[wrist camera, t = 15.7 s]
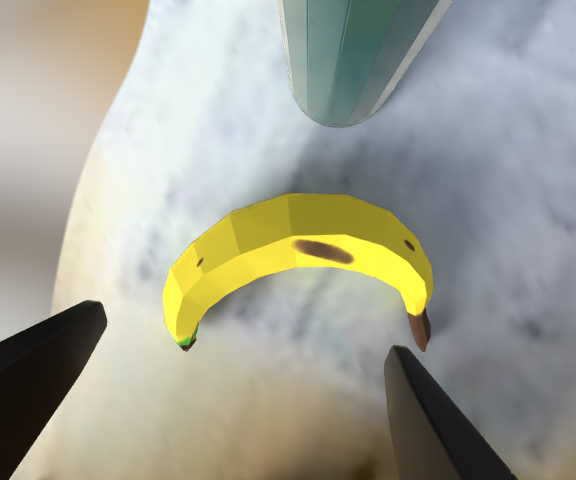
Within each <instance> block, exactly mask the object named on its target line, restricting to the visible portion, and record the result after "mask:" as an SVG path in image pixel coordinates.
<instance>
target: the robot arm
mask: <svg viewBox="0 0 576 480" xmlns="http://www.w3.org/2000/svg"><path fill="white" fill-rule="evenodd" d="M106 326H107V317H106V314H105V311H104V307H103V304H102V303H101V302H99V301H92V300H86V301H83V302H81V303H79V304H77V305H75V306H73V307H71V308H69V309H67V310H65V311H63V312H61V313H59V314H56V315H54V316H52V317H50V318H48V319H46V320H44V321H42V322H40V323H38V324H36V325H34V326H32V327H30V328H28V329H26V330H24V331H21V332H19V333H17V334H15V335H13V336H11V337H9V338H7V339H5V340H3V341H1V342H0V480H9V479H10V477H11V476H12V474H13V473H14V471H15V470H16V468H17V467H18V465H19V464H20V462H21V461H22V460H23V458H24V457H25V455H26V454H27V452H28V451H29V449H30V448H31V446H32V445H33V443H34V442H35V440H36V439H37V437H38V436H39V435H40V433H41V432H42V430H43V429H44V427H45V426H46V424H47V423H48V421H49V420H50V418H51V417H52V415H53V414H54V412H55V411H56V410H57V408H58V407H59V405H60V404H61V402H62V401H63V399H64V398H65V396H66V395H67V393H68V392H69V390H70V389H71V387H72V386H73V385H74V383H75V382H76V380H77V378H78V377H79V375H80V374H81V372H82V370H83V369H84V367H85V365H86V363H87V362H88V360H89V358H90V356H91V354H92V352H93V351H94V349H95V347H96V345H97V343H98V342H99V340H100V338H101V336H102V334H103V332H104V331H105V329H106ZM384 374H385V385H386V397H387V408H388V418H389V426H390V432H391V437H392V442H393V447H394V452H395V457H396V463H397V468H398V473H399V478H400V480H518V479H517V477H516V476H515V475H514V474H511V471H510V469H509V468H508V467H507V466H506V464H505V463H504V462H503V461H502V460H501V458H500V457H499V456H498V455H497V454H496V452H495V451H494V450H493V449H492V448H491V446H490V445H489V444H488V443H487V442H486V440H485V439H484V438H483V437H482V436H481V434H480V433H479V432H478V431H477V430H476V429H475V427H474V426H473V425H472V424H471V423H470V421H469V420H468V419H467V418H466V417H465V415H464V414H463V413H462V412H461V411H460V409H459V408H458V407H457V406H456V405H455V403H454V402H453V401H452V400H451V399H450V397H449V396H448V395H447V394H446V393H445V391H444V390H443V389H442V388H441V387H440V386H439V384H438V383H437V382H436V381H435V380H434V378H433V377H432V376H431V375H430V374H429V372H428V371H427V370H426V369H425V368H424V366H423V365H422V364H421V363H420V362H419V360H418V359H417V358H416V357H415V356H414V354H413V353H412V352H411V351H410V350H409V349H408V348H407V347H405V346H399V345H393V346H392V347H391V349H390V351H389V353H388V356H387V358H386V360H385V364H384Z"/></svg>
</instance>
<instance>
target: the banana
mask: <svg viewBox="0 0 576 480" xmlns="http://www.w3.org/2000/svg"><path fill="white" fill-rule="evenodd" d="M327 266H330V267H335V268H341V269H347V270H353V271H357V272H360V273H363V274H367V275H370V276H373V277H376V278H379V279H381V280H382V281H384V282H386V283H388V284H390V285H391V286H393V287H395V288H397V289H398V290H399V291H400V292H401V294H402V297H403V299H404V302H405V305H406V309H407V313H408V318H409V322H410V325H411V329H412V332H413V335H414V338H415V340H416V343H417V345H418V347H419V348H420V349H421V351H423V352H425V350H426V346H427V343H428V341H429V339H430V336H431V325H430V322H429V319H428V316H427V314H426V306H427V304H428V302H429V300H430V298H431V295H432V292H433V276H432V266H431V264H430V262H429V260H428V258H427V256H426V254H425V252H424V250H423V248H422V247H421V245H420V243H419V241H418V239H417V237H416V236H415V235H414V234H413V233H412V232H411V231H410V230H409V229H408V228H407V227H406V226H404V225H403V224H402V223H401V222H400V221H399V220H398V219H397V218H396V217H395V216H394V215H393V214H392V213H391V212H390V211H388V210H385V209H383V208H380V207H377V206H375V205H372V204H370V203H367V202H364V201H362V200H359V199H356V198H354V197H351V196H349V195H345V194H304V193H286V194H283V195H280V196H277V197H274V198H271V199H268V200H265V201H262V202H259V203H256V204H253V205H250V206H247V207H244V208H241V209H238V210H235V211H232V212H231V213H230V214H228V215H227V216H226V217H224V218H223V219H222V220H220V221H219V222H218V223H217V224H215V225H214V226H213V227H211V228H210V229H209V230H208V231H206V232H205V233H204V234H202V235H201V236H200V237H199V238H197V239H196V240H195V241H193V242H192V243H191V245H190V246H189V247H188V248H187V249H186V251H185V252H184V253H183V254H182V255H181V257H180V258H179V259H178V260H177V261H176V263H175V264H174V265H173V266H172V267H171V268H170V272H169V275H168V278H167V281H166V285H165V288H164V291H163V305H164V317H165V324H166V326H167V327H168V329H169V331H170V332H171V334H172V336H173V337H174V339H175V341H176V342H177V344H178V345H179V346H180V347H181V348H182V350H184V351H188V350H189V349H190V348H191V347H192V345H193V344H194V343H195V341H196V333H197V329H198V325H199V321H200V319H201V318H202V317H203V315H204V314H205V312H206V311H207V310H208V309H209V308H210V307H211V306H213V305H214V304H215V303H217V302H218V301H219V300H221V299H222V298H223V297H225V296H226V295H227V294H229V293H231V292H233V291H235V290H236V289H238V288H240V287H242V286H244V285H246V284H248V283H250V282H251V281H253V280H255V279H257V278H259V277H262V276H265V275H269V274H273V273H276V272H280V271H284V270H288V269H291V268H295V267H327Z"/></svg>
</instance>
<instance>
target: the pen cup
mask: <svg viewBox="0 0 576 480" xmlns="http://www.w3.org/2000/svg"><path fill="white" fill-rule="evenodd" d="M277 1H278V8H279V15H280V22H281V29H282V36H283V42H284V49H285V56H286V63H287V70H288V77H289V81H290V85H291V90H292V93H293V96H294V99H295V101H296V102H297V104H298V106H299V107H300V109H301V110H302V111H303V112H304V113H305V114H306V115H307V116H308V117H309V118H311V119H312V120H314V121H316V122H317V123H320V124H322V125H325V126H329V127H349V126H352V125H356V124H358V123H361V122H362V121H364V120H366V119H368V118H369V117H370V116H372V115H373V114H374V113H375V112H376V111H377V110H378V109H379V108H380V106H381V105H382V104H383V103H384V102H385V101H386V99H387V98H388V96H389V95H390V93H391V92H392V90H393V89H394V87H395V86H396V85H397V83H398V82H399V80H400V79H401V77H402V76H403V74H404V73H405V71H406V70H407V68H408V67H409V65H410V64H411V63H412V61H413V60H414V58H415V57H416V55H417V54H418V52H419V51H420V49H421V48H422V46H423V45H424V43H425V42H426V41H427V39H428V38H429V36H430V35H431V33H432V32H433V30H434V29H435V27H436V26H437V24H438V23H439V21H440V20H441V19H442V17H443V16H444V14H445V13H446V11H447V10H448V8H449V7H450V5H451V4H452V2H453V1H454V0H277Z"/></svg>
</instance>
